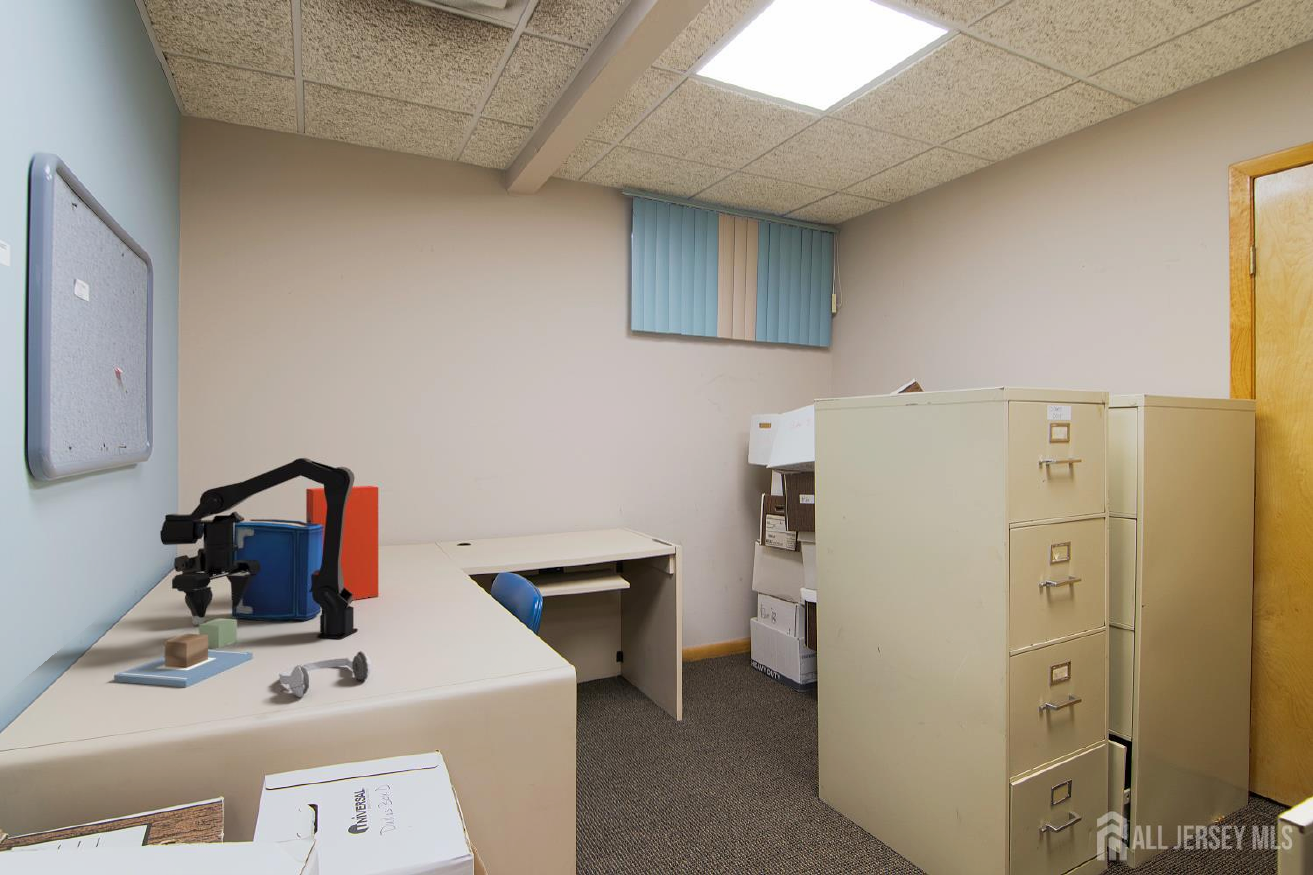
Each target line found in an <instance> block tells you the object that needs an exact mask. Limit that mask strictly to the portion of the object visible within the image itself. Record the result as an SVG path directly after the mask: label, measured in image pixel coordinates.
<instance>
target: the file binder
mask: <svg viewBox="0 0 1313 875" xmlns="http://www.w3.org/2000/svg"><path fill="white" fill-rule="evenodd" d="M305 491H306V492H305V495H306V496H305V498H306V499H305V500H306V501H305V502H306V504H305V505H306V507H305V510H306V513H305V515H306V519H305V520H306V522H305V523H307V524H320V525H322V526H323V544H324V534H325V524H326V513H327V503H326V498H325V493H324V487H318V488H317V487H316V488H306V490H305ZM322 554H323V550H322ZM341 568H342V573H343V582H344V587H345V588H346V589H347V590H348V591H350V592H351V593H352V594H353V595H354V597H353V599H352V601H355V599H357V600H362V598H364V599H369V598H368V597H370V598H376V596H377V597H379V487H378V486H374V485H360V486H359V485H358V486H357V485H356V486H353V487H352V490H351V493H350V496H349V499H348V502H347V504H346V511H345V521H344V531H343V541H342V552H341Z"/></svg>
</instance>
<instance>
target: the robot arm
mask: <svg viewBox="0 0 1313 875" xmlns="http://www.w3.org/2000/svg"><path fill="white" fill-rule="evenodd" d="M298 477H304V478H306V479H308V480H310V481H313V482H316V483H318V484H321V485H323V488H324V493H325V498H326V503H327V513H326V524H325V534H324V544H323V554H322V564H321V568H320V570H316V571H315V572H314V573H313V574H312V575H311V582H312V586H311V589H310V591H309V592H312V591H313V592H312V598H313V600H314V601H315V602H316V603H317V604H319V605H320V606H321V614H320V615H319V632H320V633H318V634H317V635H316V637H317V638H322V639H323V638H325V639H337V640H338V639H340V640H341V639H343V638H345V637H347V636H350V635H352V634H355V633H356V632H358V630H359V629H358V628H355V627H354V625H355V624H354V620H355V619H354V612H355V609H354V606H351V603H352V601H353V600H352V599H353V597H354V595H353V594H352V593H351V592H350V591H348V590H347V589H346V588H345V587H344V582H343V573H342V568H341V552H342V541H343V531H344V521H345V511H346V504H347V502H348V499H349V496H350V493H351V490H352V487H354V482H355V479H356V478H355V474H354V472H353V471H352V470H351V469H350V468H349V467H346V466H337V467H333V466H331V465H328V464H324V463H321V462H317V461H315V460H311V459H309V458H307V457H301V458H300V457H299V458H297V459H294V460H293V461H292V462H288V463H287V464H283V465H281V466H278V467H276V468H273V469H272V470H269V471H267V472H264V473H262V474H261V473H260V474H259V475H257V476H254V477H251V478H249V479H246V480H243V481H240V482H236V483H230V484H226V485H222V486H218V487H214V488H210V489H207V490H206V491H203V493H202V494H201V496H200V498H199V504H197V506H196V507H195V509H194V510H193V511H192V512H191V513H188V514H187V513H186V514H184V513H183V514H179V513H168V514H166V515H165V518H164V521H163V523H162V526H161V529H160V534H159V535H160V541H161V543H162V544H163V546H176V545H178V546H179V545H196V543H197V542H198V540H202V539H203V544H202V546H203V547H201V548H198V550H197V555H196V556H191V557H189V556H188V555H187V554H185V555H181V556H178V557H175V558H174V560H173V561H174V563H173V566H174V571H175V572H177V573H180V572H181V573H180V574H176V575H174V577H173V578H172V580H171V589H173V590H174V589H175V590H177V591H178V592H182V593H184V594H185V595H186V594H187V595H188V596H189V598H190V600H191V601H192V603H193V606H194V608H195V610H196V612H197V614H198V617H200V618H203V617H204V616H205V617H206V614H205V613H207V609H208V607H207V605H208V600H209V595H210V591H212V587H211V586H209V585H210V583H211V581H212V580H216V579H220V578H224V577H226V578H227V579H228V581H229V582H230V593H231V606H232V605H233V606H234V607H237V606H238V605H239V603H240V601H241V599H242V597H243V595H244V593H245V592H246V590H247V588H248V586H249V585H250V583H251V581H252V580H253V578H254V577H256V575H257V574H254V573H258V572H261V564H260V563H259V562H258V560H237V561H234V551H237V550H238V546H234V524H235V523H239V522H242V521H245V518H244V516H242V515H240V514H239V513H238V511H236V510H235V511H233V512H231V513H230V514H228V515H227V514H225V515H219V514H221V513H225V512H228V511H230V510H231V509H234V508H235V507H237V506H238V505H240V504H241V503H243V502H245V501H247V499H249V498H251V497H252V496H255V495H256V494H259V493H262V492H265V491H266V490H269V489H271V488H273V487H276V486H278V485H281V484H285V483H286V482H288V481H290V480H291V481H292V480H293V479H297V478H298ZM217 514H218V515H217ZM213 515H215V516H214V517H213V518H212V519H204V518H208V517H211V516H213ZM202 519H203V520H202Z"/></svg>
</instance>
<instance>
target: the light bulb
mask: <svg viewBox="0 0 1313 875" xmlns="http://www.w3.org/2000/svg"><path fill="white" fill-rule="evenodd" d="M213 595H214V594H213V591H212V590H211V591H210V595H209V600H208V605H207V608H208V607H209V605H210V604H211V602H212V600H213V597H214V596H213ZM184 603H185V604H186V605H187V607H188V609H189V610H190V612H191V615H192V616H191V617H192V624H193V625H194V626H196V627H199V625H200V624H203V623H206V622H205V621H206V613H207V612H206V613H205V616H204V617H203V618H200V617H198V614H197V612H196V610H195V608H194V606H193V603H192V601H191V600H190V598H189V596H188V595H187V594H186V593H185V596H184Z"/></svg>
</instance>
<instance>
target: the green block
mask: <svg viewBox="0 0 1313 875" xmlns="http://www.w3.org/2000/svg"><path fill="white" fill-rule="evenodd" d="M198 628H199V629H198V634H199V635H208V648H212V649H219V648H220V649H221V648H222V647H225V646H228V645H230V644H232V643H236V642H237V641H238V620H237V619H234V618H232V619H230V618H215V619H212V620H209V621H206V622H204V623H203V624H200V625H199V626H198Z"/></svg>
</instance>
